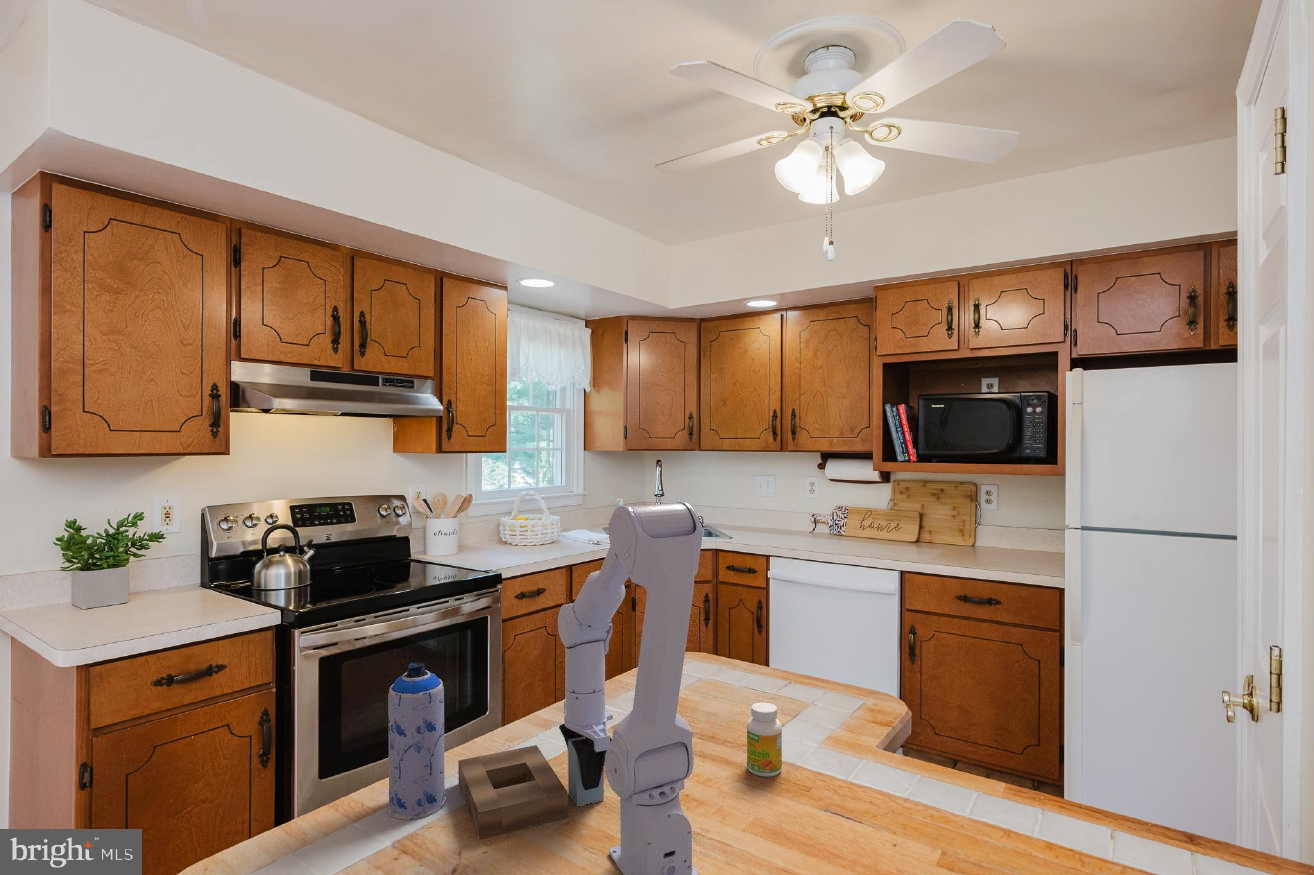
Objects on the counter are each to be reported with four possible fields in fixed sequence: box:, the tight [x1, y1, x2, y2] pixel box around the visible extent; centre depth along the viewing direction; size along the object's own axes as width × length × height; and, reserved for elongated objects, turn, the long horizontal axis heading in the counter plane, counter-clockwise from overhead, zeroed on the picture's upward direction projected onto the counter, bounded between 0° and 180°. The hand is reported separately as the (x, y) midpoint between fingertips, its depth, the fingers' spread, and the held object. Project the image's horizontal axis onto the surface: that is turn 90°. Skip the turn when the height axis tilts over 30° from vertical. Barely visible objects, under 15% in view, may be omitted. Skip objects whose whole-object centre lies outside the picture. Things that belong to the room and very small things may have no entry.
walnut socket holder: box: [457, 744, 569, 840], centre depth 101 cm, size 16×12×4 cm
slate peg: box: [567, 736, 605, 808], centre depth 101 cm, size 4×4×8 cm
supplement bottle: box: [746, 702, 783, 777], centre depth 110 cm, size 5×5×10 cm
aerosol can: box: [387, 661, 447, 821], centre depth 100 cm, size 8×8×20 cm
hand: (585, 780), depth 101 cm, fingers closed on slate peg, 4 cm apart
